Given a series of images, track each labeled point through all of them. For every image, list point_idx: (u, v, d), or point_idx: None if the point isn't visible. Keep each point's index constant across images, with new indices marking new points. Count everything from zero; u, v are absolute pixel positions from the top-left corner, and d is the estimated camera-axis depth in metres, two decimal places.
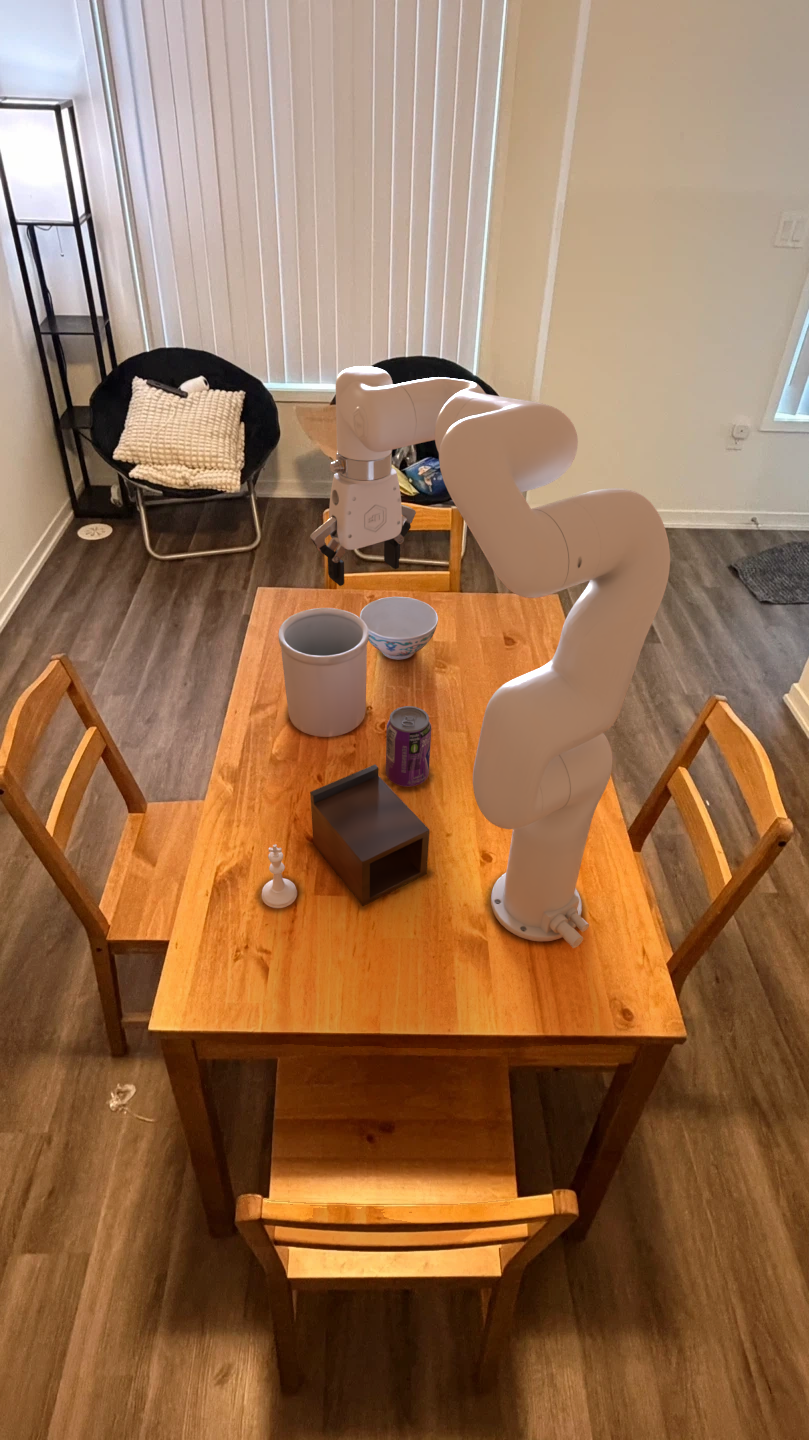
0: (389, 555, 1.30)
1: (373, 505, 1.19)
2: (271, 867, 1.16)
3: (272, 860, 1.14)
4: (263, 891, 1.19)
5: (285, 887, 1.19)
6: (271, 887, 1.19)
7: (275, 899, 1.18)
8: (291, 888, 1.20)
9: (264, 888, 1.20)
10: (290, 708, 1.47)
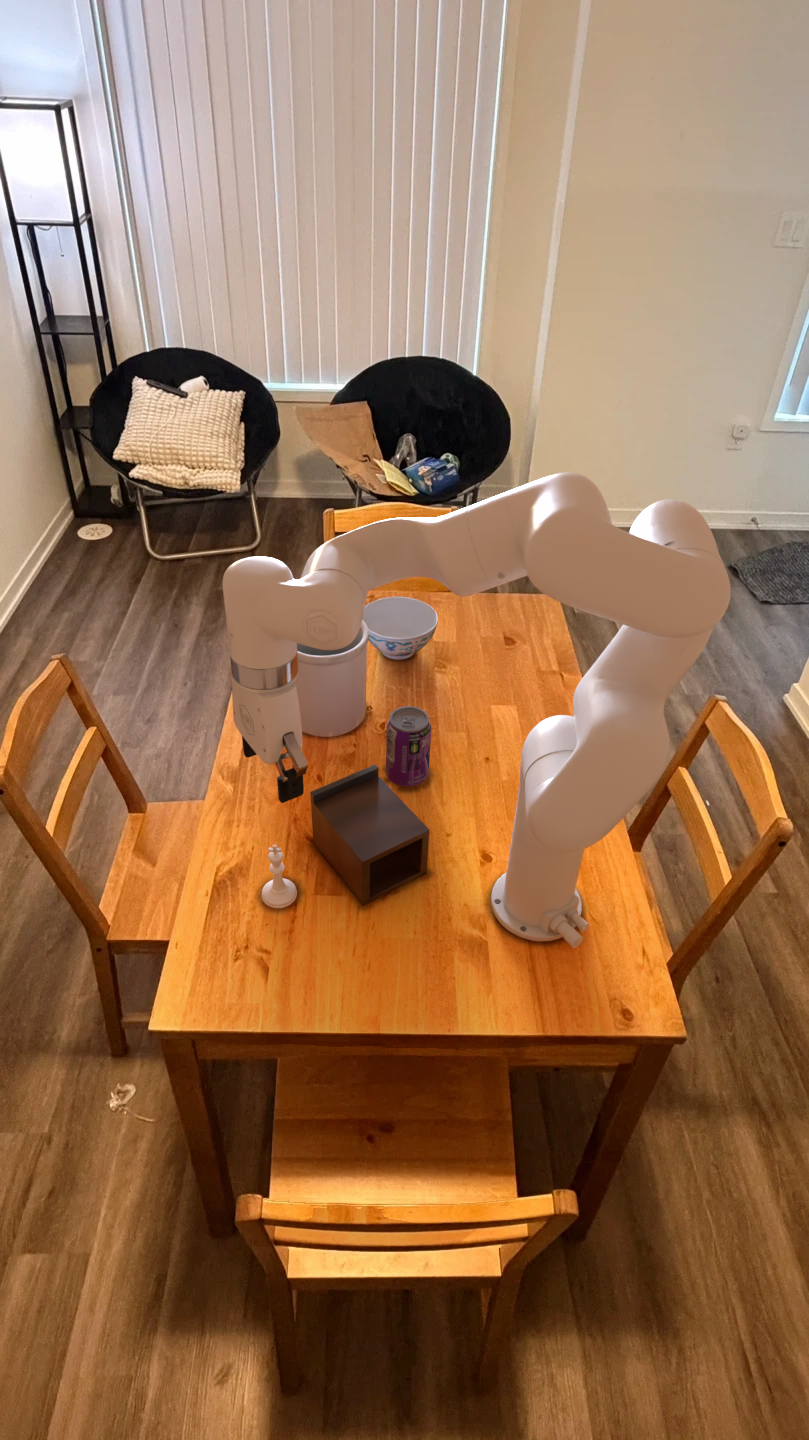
0: None
1: (245, 706, 0.99)
2: (271, 867, 1.16)
3: (272, 860, 1.14)
4: (263, 891, 1.19)
5: (285, 887, 1.19)
6: (271, 887, 1.19)
7: (275, 899, 1.18)
8: (291, 888, 1.20)
9: (264, 888, 1.20)
10: None
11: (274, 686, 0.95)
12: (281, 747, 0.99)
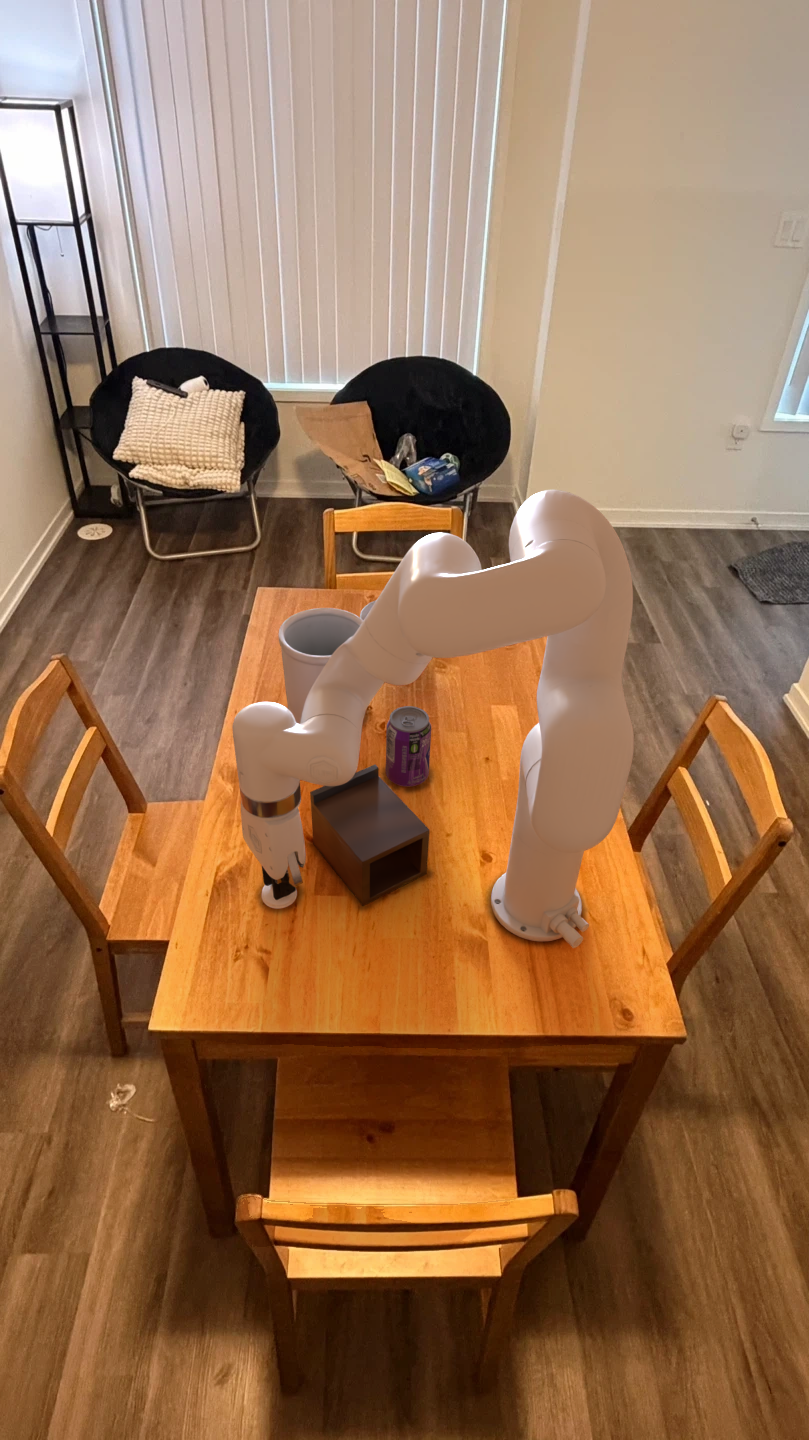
0: None
1: (253, 828, 1.10)
2: None
3: None
4: (263, 891, 1.19)
5: None
6: (271, 887, 1.19)
7: (275, 900, 1.18)
8: None
9: (264, 888, 1.20)
10: (290, 708, 1.47)
11: (280, 814, 1.05)
12: (286, 865, 1.09)
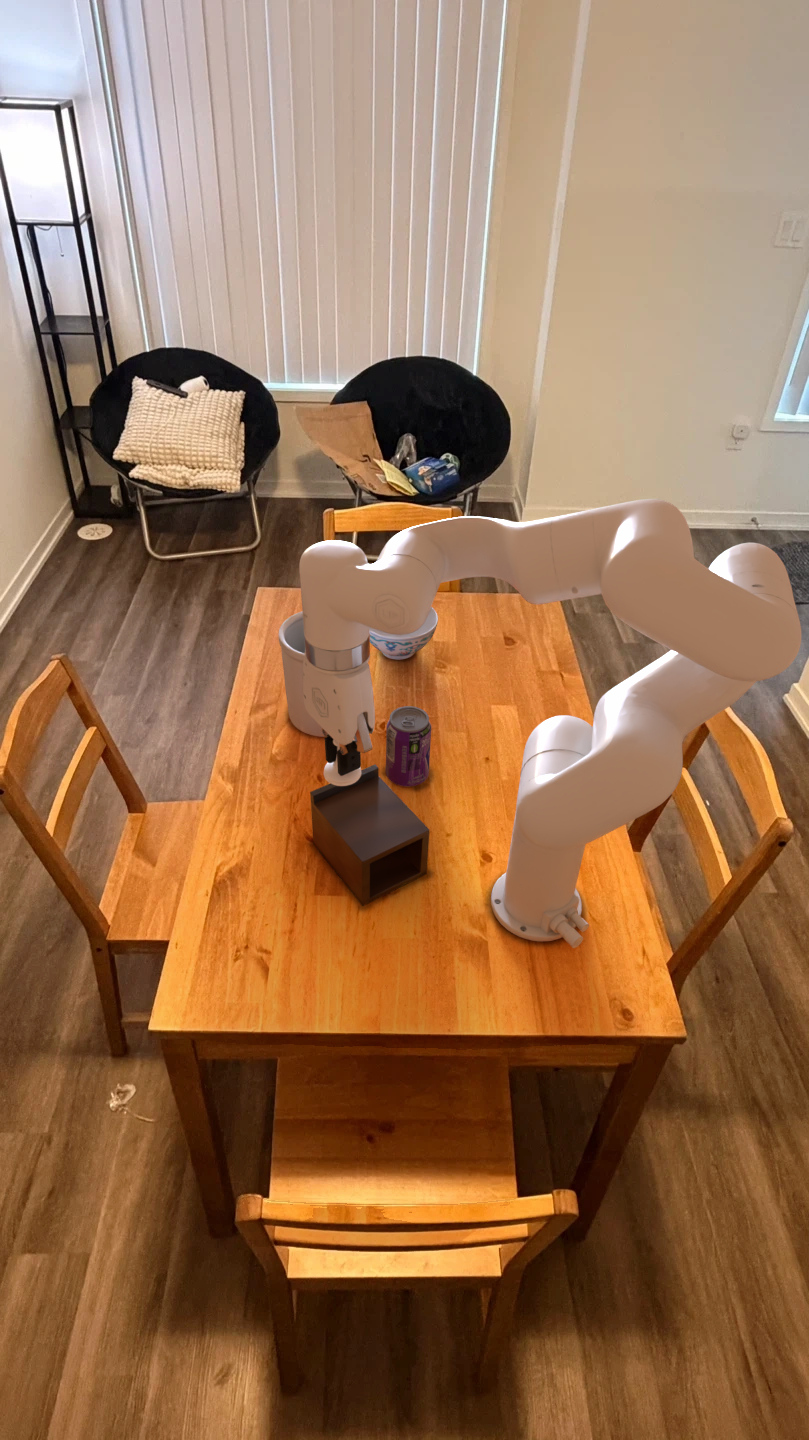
0: None
1: (319, 688, 1.02)
2: None
3: None
4: (325, 769, 1.11)
5: None
6: (334, 764, 1.11)
7: (340, 776, 1.10)
8: None
9: (326, 767, 1.12)
10: (290, 708, 1.47)
11: (349, 667, 0.97)
12: (355, 727, 1.01)
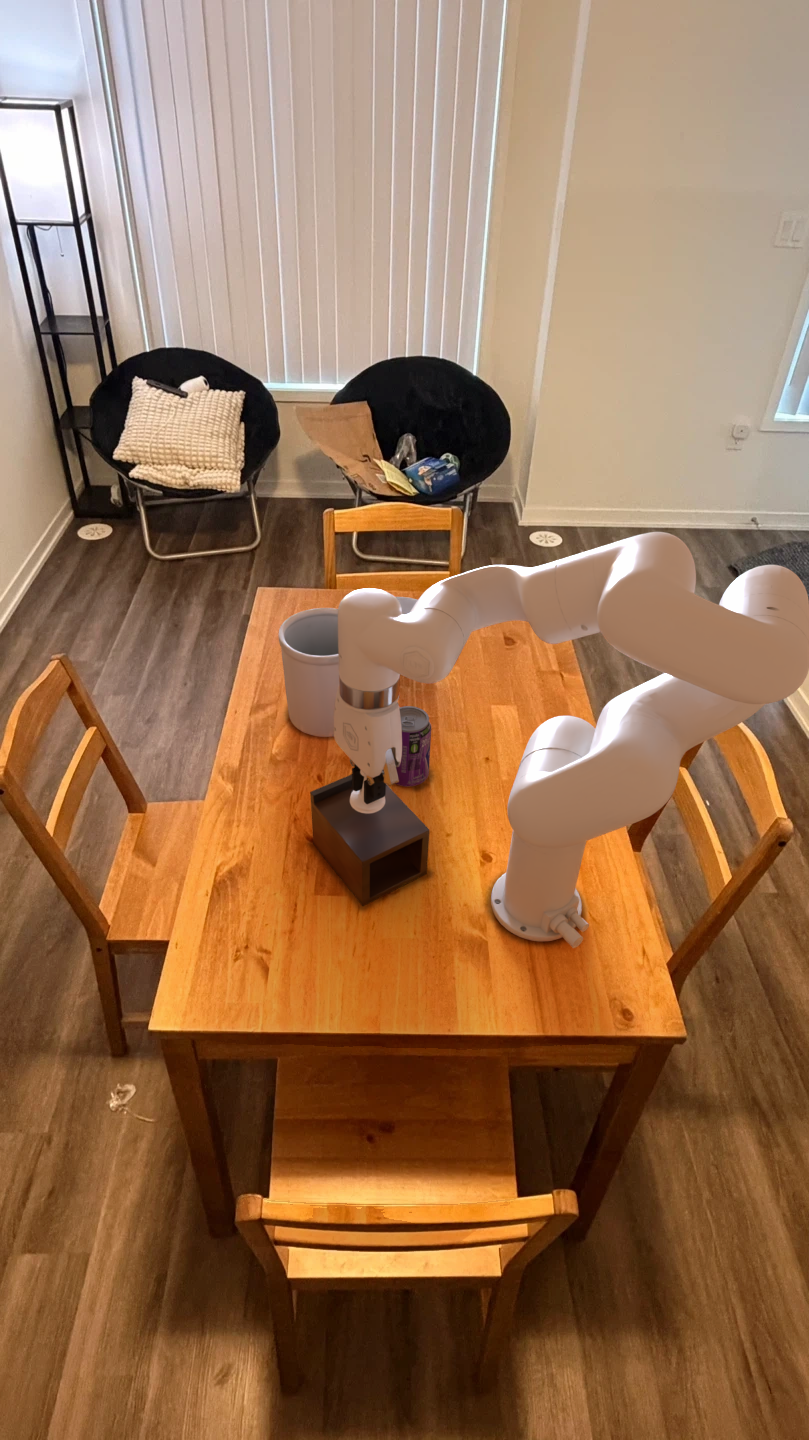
0: None
1: (350, 724, 1.08)
2: None
3: None
4: (351, 797, 1.18)
5: None
6: (360, 793, 1.17)
7: (365, 804, 1.16)
8: None
9: (352, 794, 1.18)
10: (290, 708, 1.47)
11: (381, 706, 1.04)
12: (384, 761, 1.07)
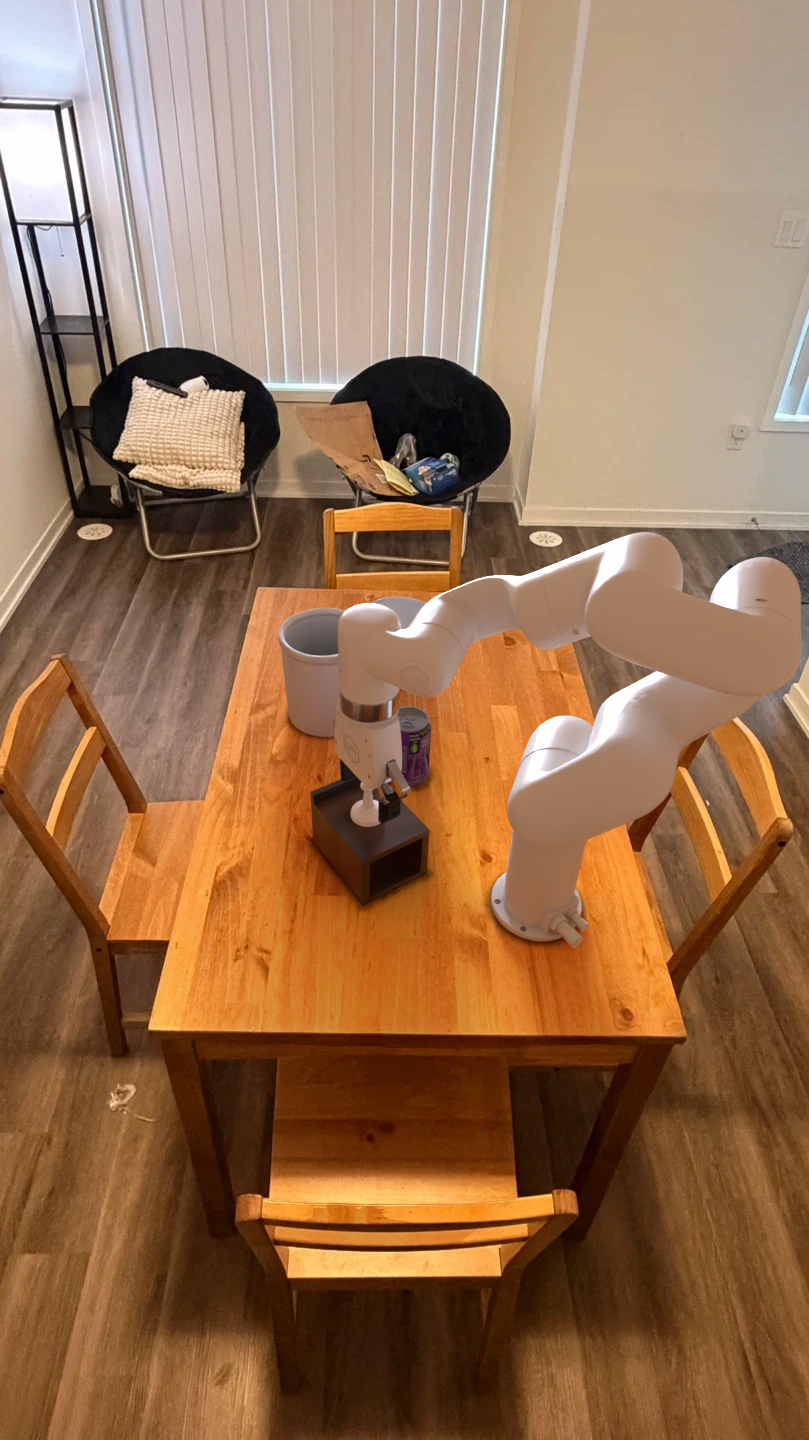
0: None
1: (351, 736, 1.09)
2: (362, 784, 1.16)
3: None
4: (352, 810, 1.19)
5: (374, 806, 1.19)
6: (360, 806, 1.19)
7: (366, 818, 1.18)
8: None
9: (353, 808, 1.20)
10: (290, 708, 1.47)
11: (381, 719, 1.05)
12: (384, 773, 1.09)
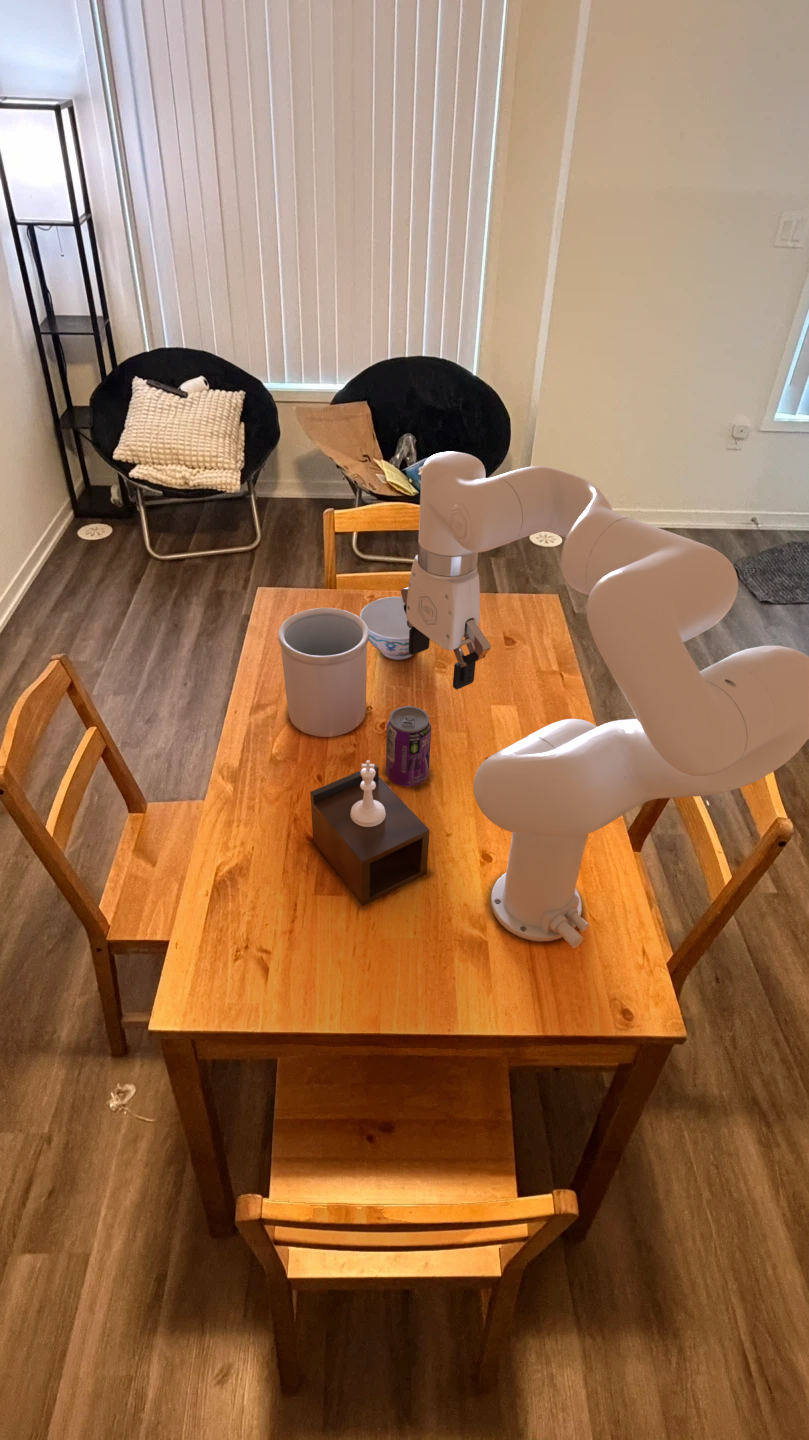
0: None
1: (428, 596, 1.08)
2: (362, 784, 1.16)
3: (365, 776, 1.14)
4: (352, 810, 1.19)
5: (374, 806, 1.19)
6: (361, 806, 1.19)
7: (366, 818, 1.18)
8: (380, 808, 1.20)
9: (353, 808, 1.20)
10: (290, 708, 1.47)
11: (462, 573, 1.04)
12: (463, 632, 1.08)
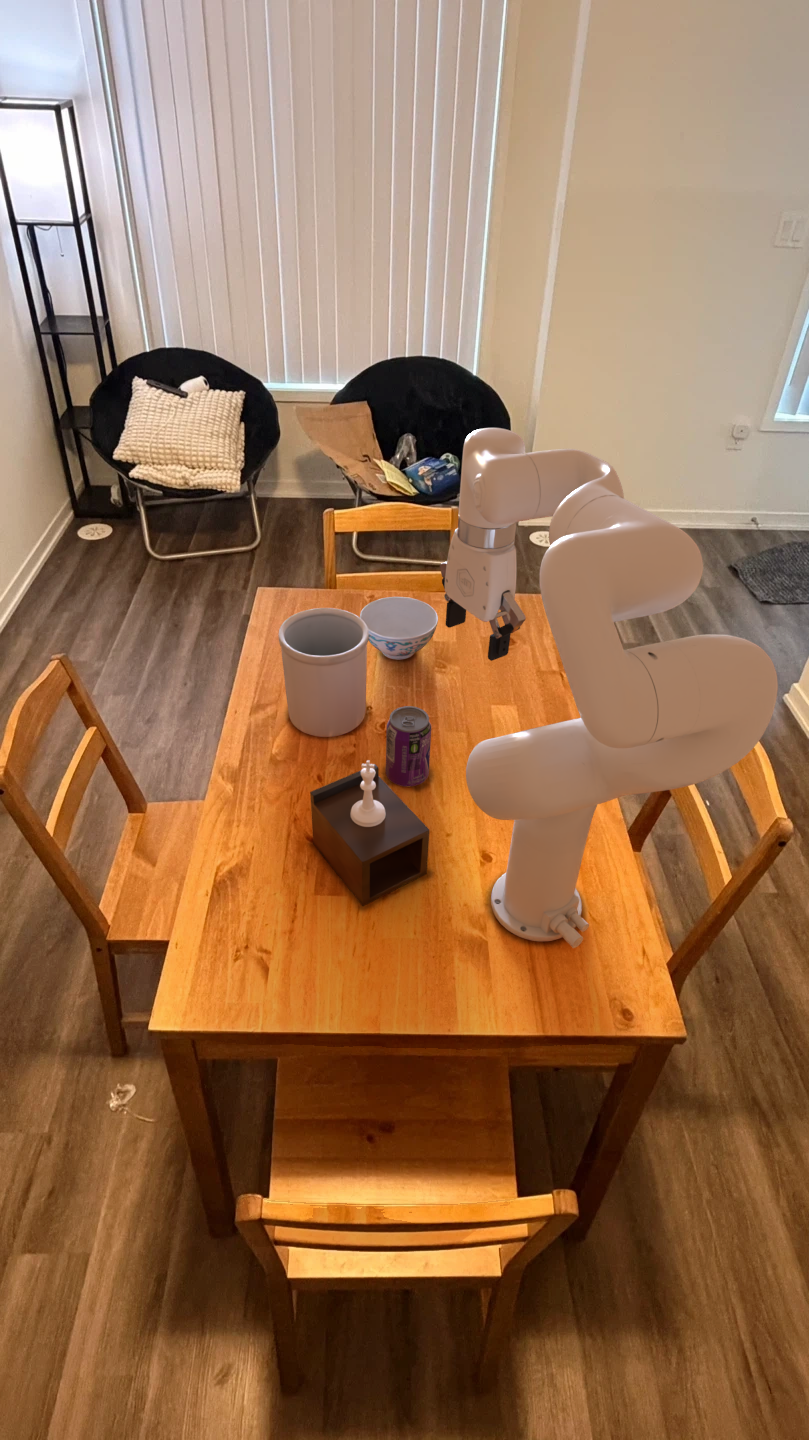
0: None
1: (466, 569, 1.12)
2: (362, 784, 1.16)
3: (365, 776, 1.14)
4: (352, 810, 1.19)
5: (374, 806, 1.19)
6: (361, 806, 1.19)
7: (366, 818, 1.18)
8: (380, 808, 1.20)
9: (353, 808, 1.20)
10: (290, 708, 1.47)
11: (500, 545, 1.08)
12: (499, 604, 1.11)
